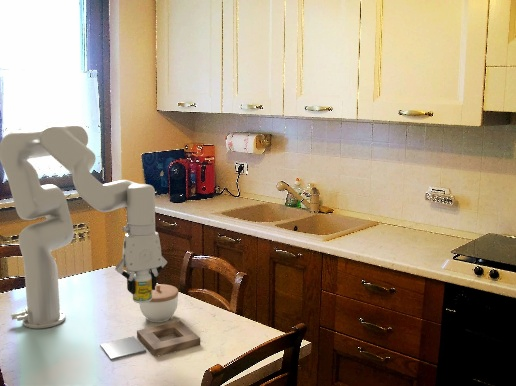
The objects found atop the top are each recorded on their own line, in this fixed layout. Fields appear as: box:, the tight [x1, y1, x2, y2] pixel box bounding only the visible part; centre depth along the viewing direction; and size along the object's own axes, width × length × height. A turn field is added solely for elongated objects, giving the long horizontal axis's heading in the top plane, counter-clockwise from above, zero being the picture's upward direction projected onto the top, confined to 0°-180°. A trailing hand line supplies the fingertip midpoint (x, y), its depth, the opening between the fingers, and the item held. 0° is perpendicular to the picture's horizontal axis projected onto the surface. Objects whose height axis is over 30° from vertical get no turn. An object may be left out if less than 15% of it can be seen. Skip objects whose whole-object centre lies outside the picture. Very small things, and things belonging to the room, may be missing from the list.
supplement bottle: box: [132, 269, 152, 304], centre depth 160 cm, size 5×5×10 cm
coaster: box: [99, 336, 147, 362], centre depth 161 cm, size 10×10×1 cm
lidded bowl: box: [138, 283, 179, 323], centre depth 181 cm, size 13×13×11 cm
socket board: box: [136, 320, 201, 357], centre depth 166 cm, size 14×14×2 cm
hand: (142, 290), depth 160 cm, fingers closed on supplement bottle, 5 cm apart
